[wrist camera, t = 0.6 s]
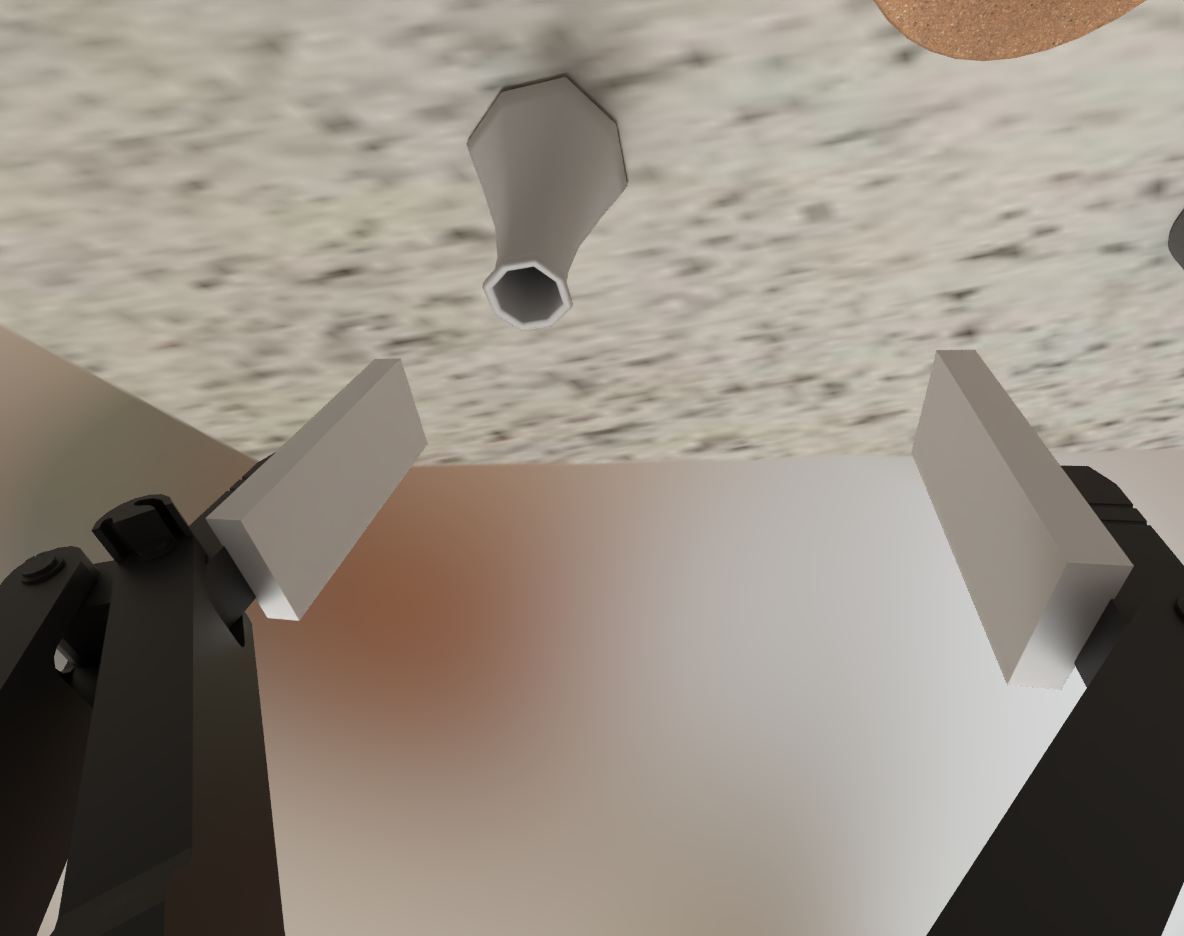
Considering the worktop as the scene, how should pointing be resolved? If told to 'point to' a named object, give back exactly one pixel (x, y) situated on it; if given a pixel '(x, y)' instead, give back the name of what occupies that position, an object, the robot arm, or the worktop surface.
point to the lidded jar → (999, 24)
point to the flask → (543, 193)
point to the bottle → (1177, 240)
